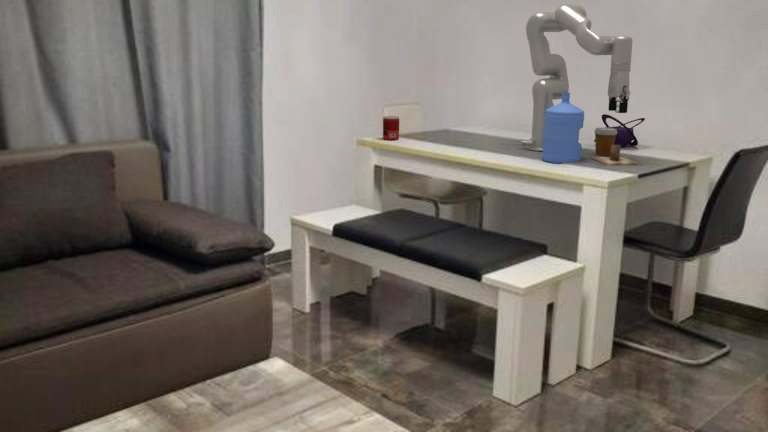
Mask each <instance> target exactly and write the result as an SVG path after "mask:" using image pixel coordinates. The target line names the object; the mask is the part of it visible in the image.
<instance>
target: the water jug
mask: <svg viewBox="0 0 768 432" xmlns="http://www.w3.org/2000/svg"><path fill="white" fill-rule="evenodd" d="M570 94H571V92H569V91H568V92H562V99H561V102H559V103H558V104H554V106H553V107H551V108H548V109H546V112H545V127H544V136H543V140H544V141H543V151H542V154H541V158H542V161H544V162H547V163H551V164H561V165H564V163H573V162H580V161H581V159H582V144H581V143H580V142H579V141H580V140H579V139H580V131H581V129H583V128H584V121H585V111H584V110H583V109H581V108H579V107H578V106H577V105H574V104H572V103H571V102H570Z"/></svg>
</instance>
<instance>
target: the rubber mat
mask: <svg viewBox="0 0 768 432" xmlns="http://www.w3.org/2000/svg"><path fill="white" fill-rule="evenodd" d="M586 160H588V161H589V162H591V163H594V164H596V165H598V166H600V167H610V166H611V167H619V166H620V167H623V166H625V167H628V166H629V167H636V166H637V167H638V166H640V167H641V166H645V165H644V164H642V163H641V162H640V163H639V162H638V163H639V165H603V164H601V163H598V162H596V161H594V160H592V159H591V158H586Z"/></svg>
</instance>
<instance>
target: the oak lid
mask: <svg viewBox="0 0 768 432" xmlns="http://www.w3.org/2000/svg"><path fill="white" fill-rule="evenodd" d="M620 146H621V145H611V153H610V156H594V157H593V156H591V157H590V159H592V160H594V161H596V162H598V163H601V164H603V165H639V162H637V161H634V160H632V159H630V158H627V157H625V156H621V155H620V154H621V148H620Z"/></svg>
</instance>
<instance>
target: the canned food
mask: <svg viewBox="0 0 768 432" xmlns="http://www.w3.org/2000/svg"><path fill="white" fill-rule="evenodd" d="M382 139H383V141H393V142H394V141H398V140H399V139H400V117H399V115H398V116H397V115H384V116H383V117H382Z"/></svg>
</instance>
